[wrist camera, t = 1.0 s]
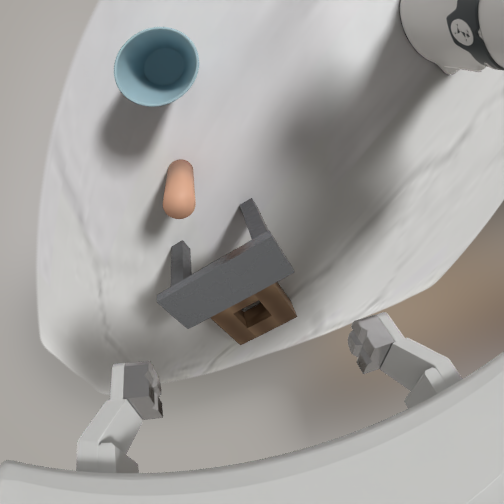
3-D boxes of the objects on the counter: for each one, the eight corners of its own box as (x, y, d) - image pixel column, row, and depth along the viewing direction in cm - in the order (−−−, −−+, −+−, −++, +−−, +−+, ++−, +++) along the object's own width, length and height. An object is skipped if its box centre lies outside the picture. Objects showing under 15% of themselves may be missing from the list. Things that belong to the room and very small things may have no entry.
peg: (183, 154, 37) (183, 183, 29) (198, 174, 39) (201, 207, 31) (162, 168, 38) (156, 201, 30) (177, 187, 40) (175, 224, 32)
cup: (125, 88, 30) (103, 97, 22) (145, 31, 27) (130, 19, 18) (182, 102, 33) (181, 115, 25) (204, 46, 29) (211, 39, 21)
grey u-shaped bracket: (248, 185, 42) (271, 236, 31) (267, 216, 45) (294, 272, 35) (161, 239, 44) (156, 302, 33) (184, 265, 47) (188, 328, 37)
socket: (262, 261, 50) (268, 276, 47) (290, 301, 57) (297, 316, 54) (202, 295, 52) (203, 311, 48) (237, 329, 59) (240, 345, 55)
